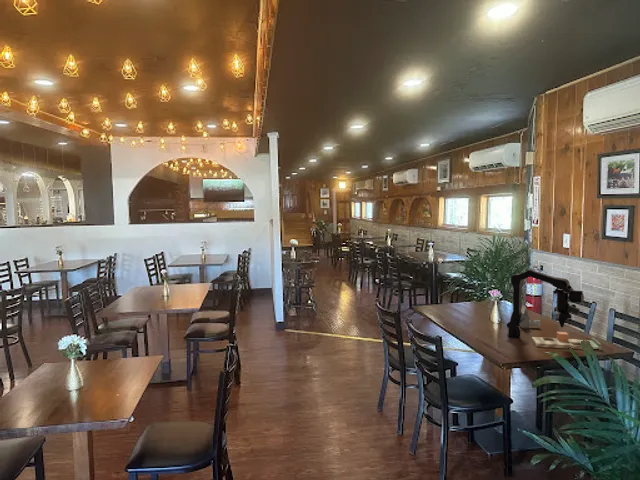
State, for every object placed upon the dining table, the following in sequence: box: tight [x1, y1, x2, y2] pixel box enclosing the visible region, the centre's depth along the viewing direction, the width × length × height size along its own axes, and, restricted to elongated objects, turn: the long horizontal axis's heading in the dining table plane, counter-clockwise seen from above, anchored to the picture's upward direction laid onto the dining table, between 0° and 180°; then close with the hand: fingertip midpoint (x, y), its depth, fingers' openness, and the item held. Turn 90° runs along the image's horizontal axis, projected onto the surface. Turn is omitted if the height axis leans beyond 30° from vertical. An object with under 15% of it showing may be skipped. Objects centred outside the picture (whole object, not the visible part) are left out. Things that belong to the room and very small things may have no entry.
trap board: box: [531, 336, 603, 351], centre depth 249 cm, size 33×13×4 cm, turn 74°
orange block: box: [556, 331, 569, 341], centre depth 252 cm, size 5×5×4 cm
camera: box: [519, 304, 542, 329], centre depth 286 cm, size 9×12×15 cm
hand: (562, 327), depth 248 cm, fingers closed
